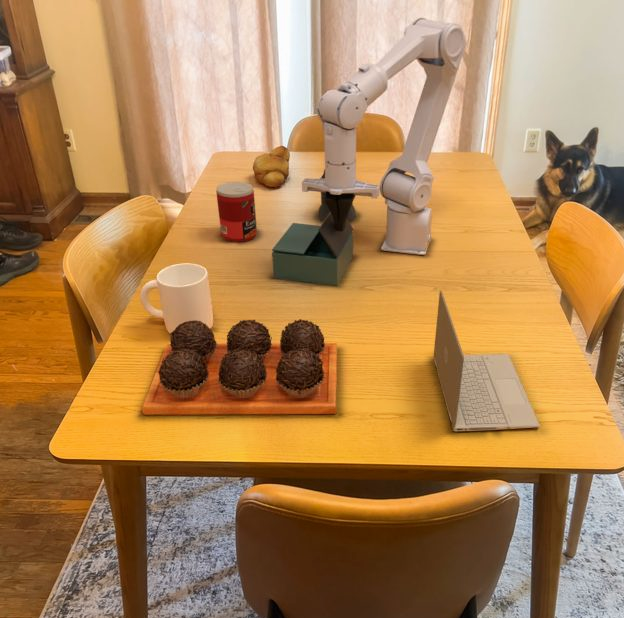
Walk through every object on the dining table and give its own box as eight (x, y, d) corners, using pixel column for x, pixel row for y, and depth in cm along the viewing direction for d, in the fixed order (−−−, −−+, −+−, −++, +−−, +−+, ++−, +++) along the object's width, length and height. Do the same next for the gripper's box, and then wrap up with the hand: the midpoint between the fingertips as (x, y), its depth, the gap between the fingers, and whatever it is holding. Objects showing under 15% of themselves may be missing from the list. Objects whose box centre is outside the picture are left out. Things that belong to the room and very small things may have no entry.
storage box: (353, 256, 140) (353, 229, 137) (337, 285, 130) (337, 256, 126) (293, 250, 143) (292, 222, 139) (273, 278, 132) (271, 249, 129)
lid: (352, 230, 137) (353, 229, 137) (336, 257, 126) (337, 256, 126) (335, 203, 135) (337, 202, 134) (317, 229, 124) (319, 228, 124)
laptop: (539, 430, 95) (556, 354, 88) (452, 433, 94) (461, 357, 87) (508, 357, 110) (520, 287, 103) (432, 359, 109) (438, 289, 102)
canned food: (251, 244, 145) (246, 195, 139) (215, 241, 146) (210, 192, 140) (261, 229, 151) (258, 182, 145) (228, 226, 153) (223, 180, 146)
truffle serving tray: (336, 350, 111) (336, 307, 107) (336, 415, 98) (335, 368, 93) (167, 351, 111) (159, 307, 106) (143, 415, 97) (133, 368, 93)
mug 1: (138, 337, 114) (127, 284, 109) (153, 312, 121) (144, 261, 115) (207, 340, 114) (199, 287, 108) (219, 315, 120) (212, 264, 115)
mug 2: (355, 224, 154) (356, 177, 147) (316, 223, 154) (314, 176, 148) (357, 204, 164) (357, 159, 157) (320, 204, 164) (319, 158, 158)
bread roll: (288, 190, 171) (286, 159, 166) (250, 190, 171) (247, 159, 166) (291, 172, 182) (290, 143, 177) (255, 172, 181) (253, 143, 177)
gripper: (295, 163, 121) (298, 233, 128) (374, 170, 118) (372, 241, 126) (307, 151, 126) (309, 219, 134) (382, 158, 124) (380, 226, 131)
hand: (340, 229), depth 130 cm, fingers closed
